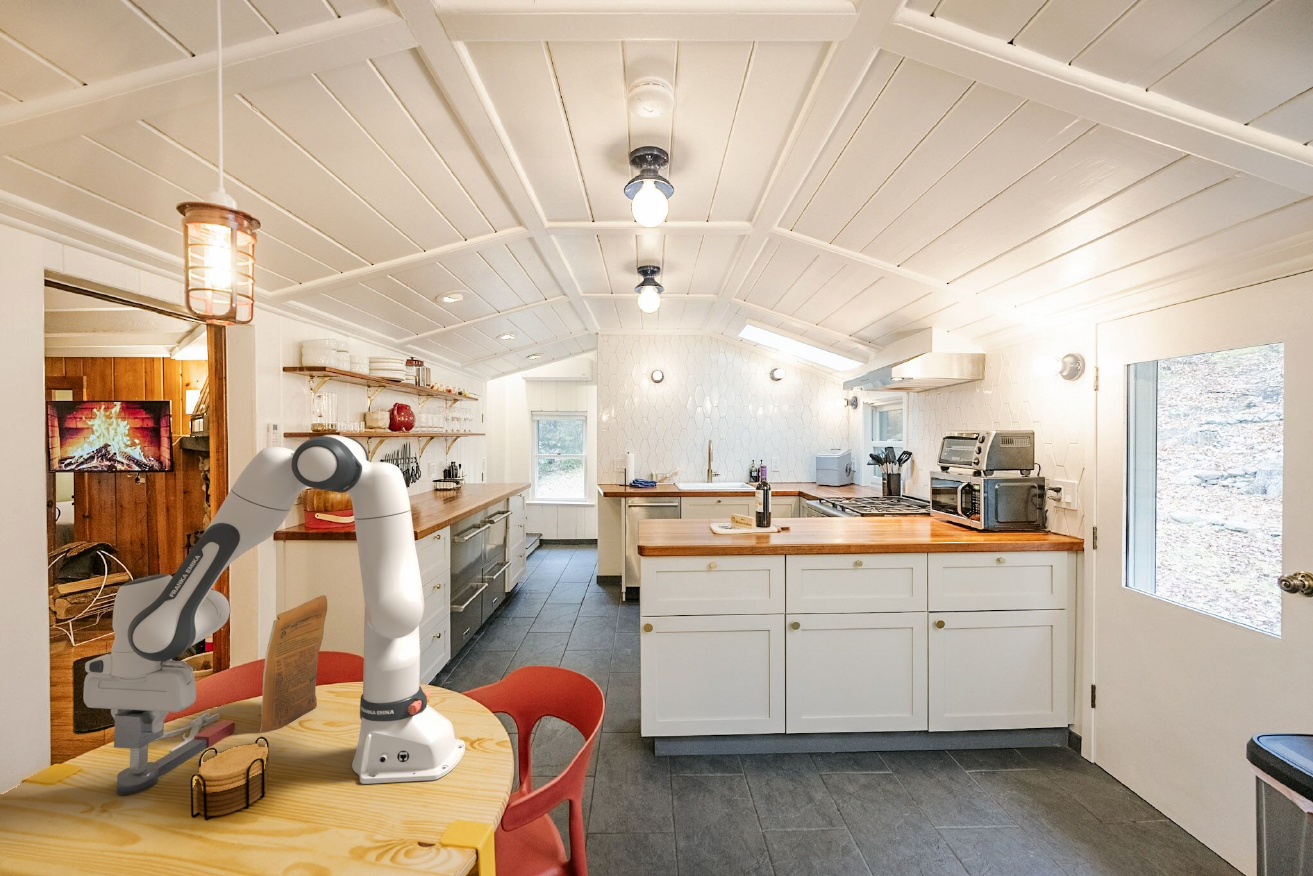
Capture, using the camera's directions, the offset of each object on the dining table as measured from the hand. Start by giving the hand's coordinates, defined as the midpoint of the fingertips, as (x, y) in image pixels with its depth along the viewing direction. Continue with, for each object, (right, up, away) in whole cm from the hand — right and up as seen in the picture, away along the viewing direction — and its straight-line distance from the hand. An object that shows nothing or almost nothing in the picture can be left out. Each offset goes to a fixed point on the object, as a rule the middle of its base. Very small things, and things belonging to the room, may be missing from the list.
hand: (139, 730), depth 108 cm
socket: (0, -2, 0) cm, 2 cm away
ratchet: (0, -11, +9) cm, 14 cm away
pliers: (-8, -12, +20) cm, 24 cm away
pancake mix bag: (+12, -12, +28) cm, 33 cm away
